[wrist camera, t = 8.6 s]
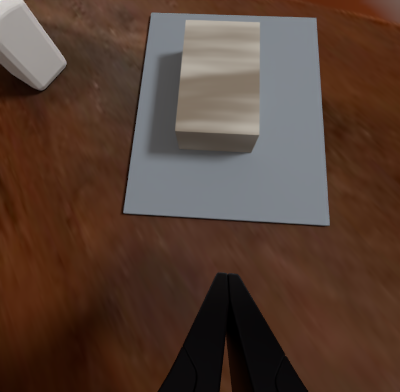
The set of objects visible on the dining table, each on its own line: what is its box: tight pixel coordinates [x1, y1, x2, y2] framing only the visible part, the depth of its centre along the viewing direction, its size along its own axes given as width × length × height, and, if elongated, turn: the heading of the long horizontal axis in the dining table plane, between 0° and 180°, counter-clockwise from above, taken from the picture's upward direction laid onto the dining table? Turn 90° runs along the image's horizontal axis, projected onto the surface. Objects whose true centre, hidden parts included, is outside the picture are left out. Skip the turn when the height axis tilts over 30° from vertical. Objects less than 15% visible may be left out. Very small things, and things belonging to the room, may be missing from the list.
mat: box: [123, 13, 330, 226], centre depth 21 cm, size 20×16×1 cm
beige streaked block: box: [175, 20, 260, 153], centre depth 19 cm, size 3×6×10 cm
